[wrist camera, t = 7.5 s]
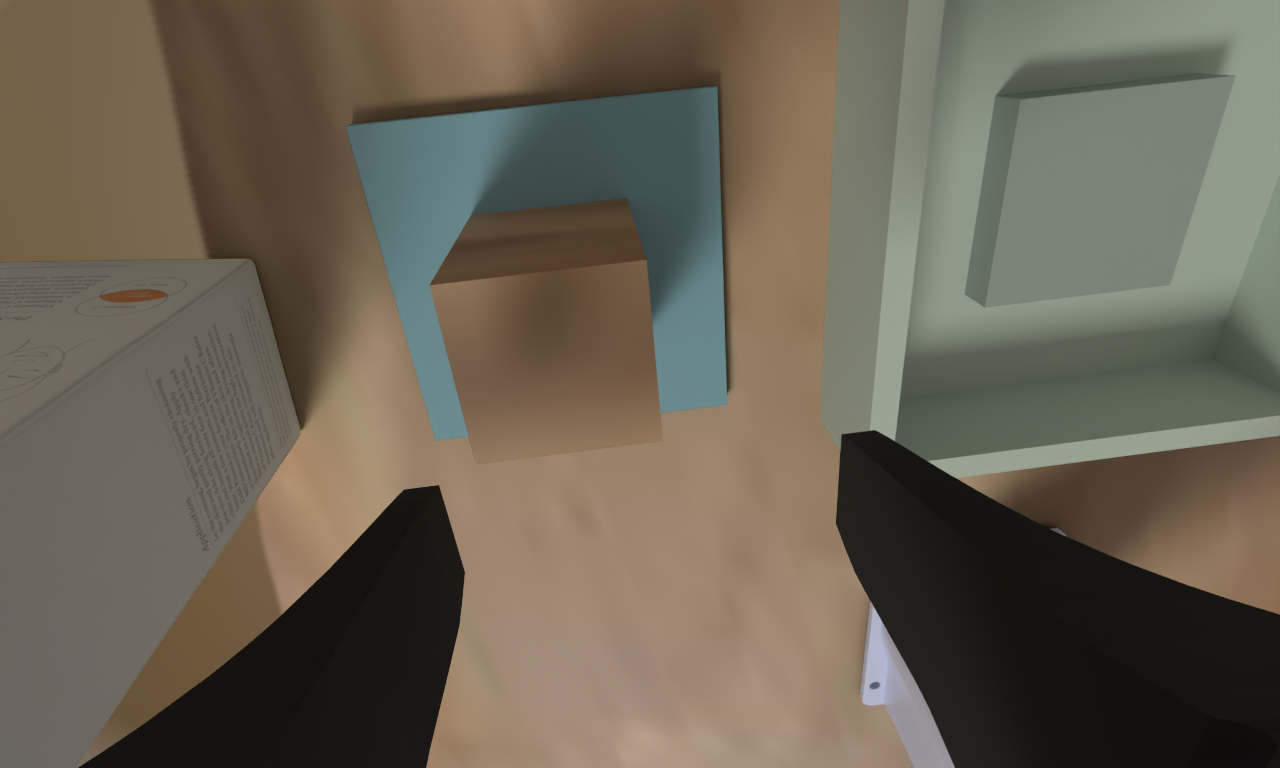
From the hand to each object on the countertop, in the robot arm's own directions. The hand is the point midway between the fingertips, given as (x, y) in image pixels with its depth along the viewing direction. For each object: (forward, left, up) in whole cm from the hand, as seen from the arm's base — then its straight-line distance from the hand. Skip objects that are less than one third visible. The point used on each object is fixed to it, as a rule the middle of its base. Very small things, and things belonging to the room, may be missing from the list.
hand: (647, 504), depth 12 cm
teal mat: (+1, +2, -10) cm, 10 cm away
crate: (+2, -14, -11) cm, 18 cm away
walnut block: (+1, +2, -10) cm, 10 cm away
